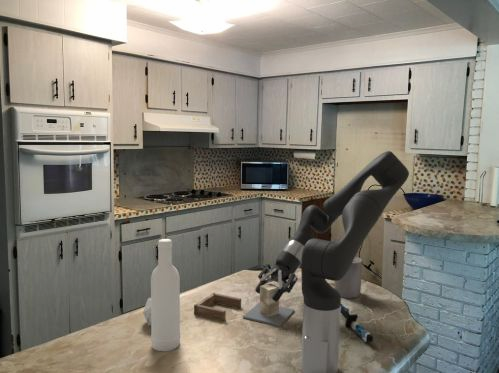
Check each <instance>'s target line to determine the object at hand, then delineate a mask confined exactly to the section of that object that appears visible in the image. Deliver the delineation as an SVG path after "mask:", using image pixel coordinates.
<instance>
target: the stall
mask: <svg viewBox="0 0 499 373" xmlns="http://www.w3.org/2000/svg"><path fill="white" fill-rule="evenodd" d="M213 304H218V305H223V306H227V307H231V308H235V309H241V308H242V298H239V297H237V296H236V297H234V296H230V295H225V294H220V293H215V292H212V293H211V294H209V295H207V296H206V297H205V298H203V299H201V300H200V301H199V302H197V303H195V304H193V314H194V315H196V316H197V315H198V316H201V317H205V318H209V319H214V320H217V321H222V322H225V321H226V318H227V316H226V314H227V313H226V312H227V311H226V310H224V309H219V308H215V307H211V306H212V305H213Z"/></svg>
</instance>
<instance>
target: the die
mask: <svg viewBox="0 0 499 373" xmlns="http://www.w3.org/2000/svg"><path fill="white" fill-rule="evenodd" d="M142 314H143V316H144V318H145V321H146V323H147V325H148V326H149V327H151V297H149V298H147V301H146V303H145V305H144V308H143V310H142Z"/></svg>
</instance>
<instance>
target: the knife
mask: <svg viewBox="0 0 499 373" xmlns="http://www.w3.org/2000/svg"><path fill="white" fill-rule="evenodd" d="M340 315H342V317H344V318H345V319H346V320H345V324H344V326H345V327H346V328H350V327H351V328H352V330H353V331H355V333H356V334H357V335H358V336H359V337H360V338H361V339H362V340H363V341H364V342H365V343H372V342H374V337H373V335H372V334H371V333H370V332H369V331H368V330H367V329H366V328H364V327H363V326H362V325H361V324H360V323H359V322H357V320H358V317H359V316H358V314H350V309H349V308H347V307H345V306H344V305H343V304H342V303H341V312H340Z"/></svg>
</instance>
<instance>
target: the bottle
mask: <svg viewBox="0 0 499 373" xmlns="http://www.w3.org/2000/svg"><path fill="white" fill-rule="evenodd" d="M157 249H158V253H157V254H158V259H157V260H158V261H157V262H158V265H157V266H156V267H155V268H154V269H153V271H152V273H151V276H150V298H151V325H150V327H151V332H150V333H151V335H150V336H151V337H150V341H151V348H152V349H153V350H155V351H158V352H170V351H174V350H175V349H177V348H179V346H180V342H181V330H180V328H181V320H180V319H181V316H180V315H181V314H180V313H181V310H180V309H181V308H180V307H181V302H180V300H181V298H180V297H181V296H180V295H181V294H180V291H181V290H180V289H181V287H180V285H181V282H180V279H181V277H180V274H179V271H178V269H177V268H176V267H175V266H174V265H173V241H172V239H171V238H162V239H161V238H160V239H159V240H158V243H157Z"/></svg>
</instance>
